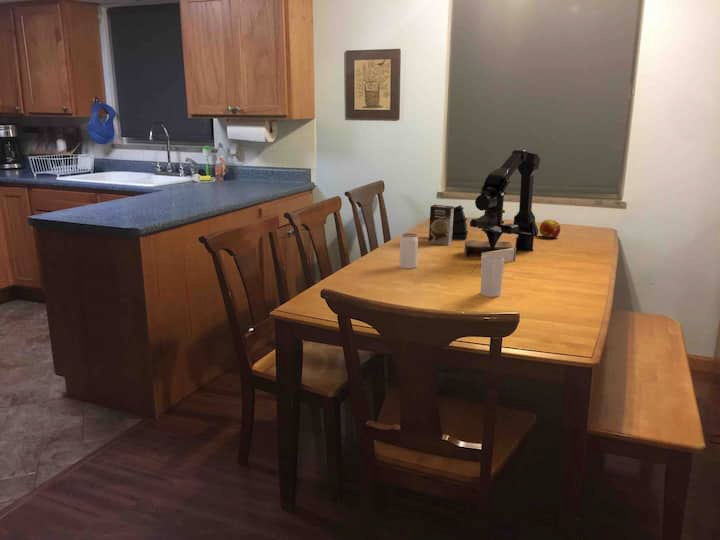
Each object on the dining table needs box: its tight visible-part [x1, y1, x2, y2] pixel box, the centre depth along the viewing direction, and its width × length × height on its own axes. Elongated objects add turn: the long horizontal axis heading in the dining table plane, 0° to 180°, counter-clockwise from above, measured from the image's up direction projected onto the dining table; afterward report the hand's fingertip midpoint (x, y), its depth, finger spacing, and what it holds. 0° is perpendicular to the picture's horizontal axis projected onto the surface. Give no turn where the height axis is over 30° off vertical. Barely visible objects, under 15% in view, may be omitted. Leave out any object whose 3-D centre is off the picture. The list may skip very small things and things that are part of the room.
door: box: [480, 247, 517, 267], centre depth 230 cm, size 17×2×5 cm, turn 122°
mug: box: [479, 255, 505, 298], centre depth 190 cm, size 10×7×12 cm, turn 170°
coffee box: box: [428, 204, 455, 246], centre depth 261 cm, size 9×6×16 cm
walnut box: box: [464, 239, 514, 260], centre depth 241 cm, size 18×10×5 cm, turn 82°
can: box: [398, 232, 419, 270], centre depth 222 cm, size 6×6×12 cm
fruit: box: [538, 219, 561, 239], centre depth 277 cm, size 10×9×8 cm
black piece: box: [452, 204, 469, 241], centre depth 272 cm, size 4×13×15 cm, turn 66°
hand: (492, 247), depth 232 cm, fingers closed
